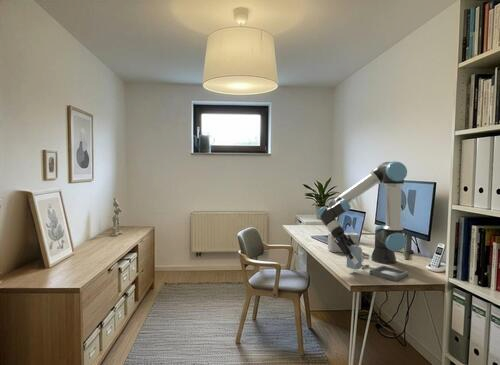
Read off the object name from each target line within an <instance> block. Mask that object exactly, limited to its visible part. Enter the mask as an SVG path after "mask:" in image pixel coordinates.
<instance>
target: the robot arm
mask: <svg viewBox="0 0 500 365" xmlns="http://www.w3.org/2000/svg"><path fill="white" fill-rule="evenodd" d="M407 175H408V169H407V167H406V165H404V163H403V162H400V161H397V160H396V161H395V160H394V161H385V162H383V163H380V164H379V165H378V166H377V167H375V168H374V169H373V170H371V171H370V172H369V174H368V175H367V176H365V177H364V178H362V179H361V180H360V181H358V182H357V183H356V184H354V185H353V186H351V187H350V188H348V189H347V190H345V191H344V192H342V193H341V194H340V195H338V196H336V197H335V198H333V199H330V200H329V201H328V207H327V206H322V207H320V208H319V209H318V210H317V212H316V213H317V214H316V215H317V217H318V218H319V219H320V221H321V222H322V223H323V225H324V226H325V228H327V231H329V232H328V233H331V234H332V236H333V237H334V238H336V239H335V240H334V241H335V242H336V243H337V245H338V246H339V248H340V249H341V250H342V252H341V253H343V254H344V255H345V256H346V257H347V255H348V256H349V257H350V259H351V260H352V261H353V263H354V264H355V265H356V264H357V263H358V262H359V261H358V260H357V259H356V257H355V256H354V255H353V253H352V252H351V253H350V250H349V248H348V246H351V245H356V244H355V243H354V242H353V240H352V239H351V237H350V236H346V235H345V234H344V233H345V231H344V230H345V229H344V228H343V227H342V226H341V224H340V223H339V222H338V220H337V219H336V218H339V217H340V216H342V215H343V214H344V213H346V212H348V211H349V210H350V209H351V205H350V203H351V202H353V201H354V200H356V199H357V198H359V197H360V196H362V195H364V193H366V192H367V191H369V190H370V189H372V188H373V187H374V186H376V185H380V184H381V183H383V185H384V186H385V225H376V226H375V229H374V247H373V252H372V254H371V257H370V259H371V260H372V261H374V262H376V263H382V264H395V263H397V257H396V254H395V252H400V251H402V250H403V249H404V248H406V245H407V243H408V242H407V238H406V236H405V234H404V227H402V222H401V221H402V214H401V213H402V186H404V184H405V178H406V177H407ZM361 262H362V263H363V262H365V259H363V258H362V256H361Z"/></svg>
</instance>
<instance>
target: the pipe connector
mask: <svg viewBox="0 0 500 365" xmlns="http://www.w3.org/2000/svg"><path fill="white" fill-rule="evenodd" d="M361 256H362V258H363V259H364V260H370V256H366V255H365V254H363V249H362V248H361ZM362 264H363V262H361V266H363V265H362Z"/></svg>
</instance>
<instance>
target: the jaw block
mask: <svg viewBox="0 0 500 365" xmlns="http://www.w3.org/2000/svg"><path fill="white" fill-rule="evenodd" d="M348 248H349V250H350V253H351V252H352V253H353V255H354V256H355V257H356V259H357V260H358V261H359V262H358V263H357V264H356V265H355V264H354V263H353V261H352V260H351V259H350V257H349V256H348V255H347V256H346V268H347V269H348V268H349V269H351V270H359V269H361V267H362V265H361V249H362V247H361V246H358V247H357V245H351V246H348Z"/></svg>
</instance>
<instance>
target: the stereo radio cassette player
mask: <svg viewBox="0 0 500 365" xmlns="http://www.w3.org/2000/svg"><path fill="white" fill-rule="evenodd" d="M343 230H344V234H345V235H346V236H350V237H351V239H352V240H353V242H354V243H355V244H356V245H357V247H359V240H360V234H359V233H357V232H348V231H347V230H345V229H343ZM335 239H336V238H334V237H333V236H332V234H331V232H328V233H327V249H328V250H329V252H331V253H343V252H342V250H341V249H340V248H339V246H338V245H337V243H336V242H335V241H334V240H335Z"/></svg>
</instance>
